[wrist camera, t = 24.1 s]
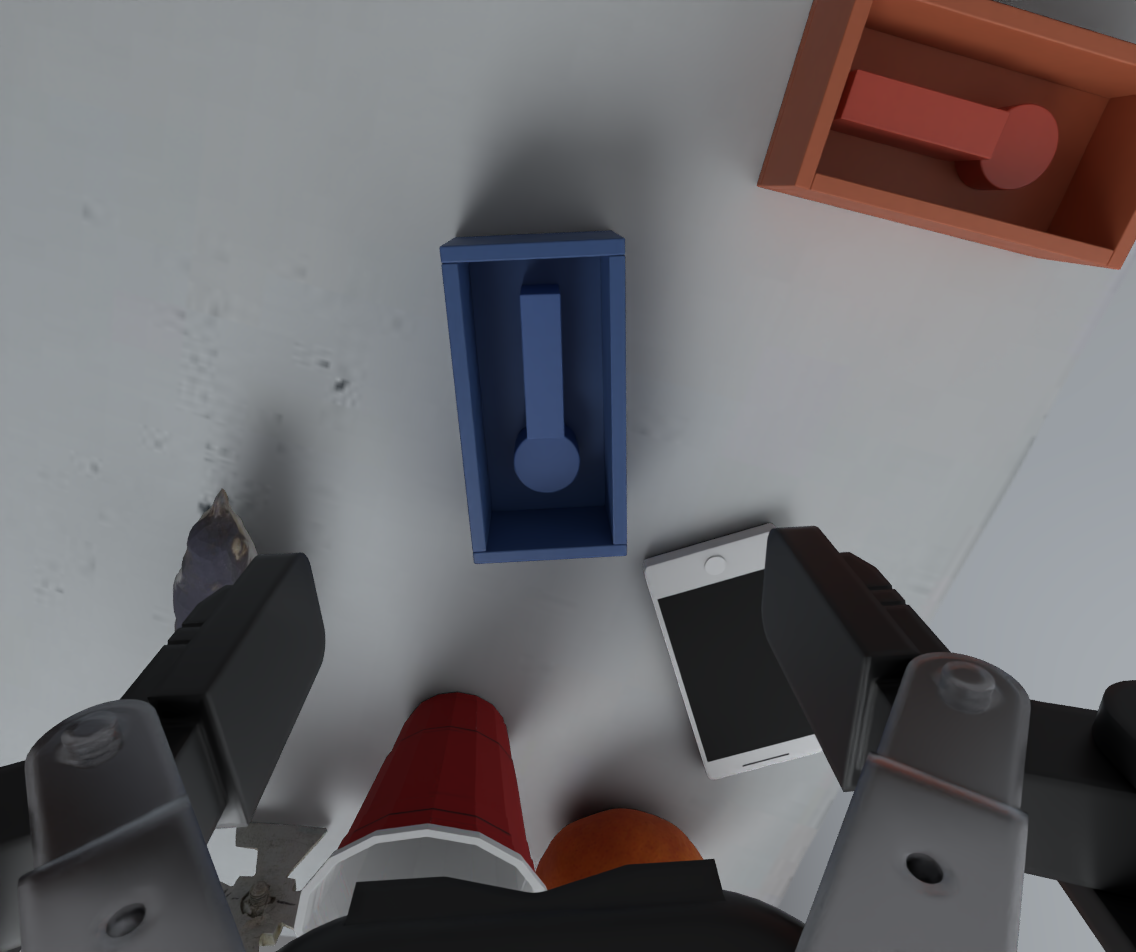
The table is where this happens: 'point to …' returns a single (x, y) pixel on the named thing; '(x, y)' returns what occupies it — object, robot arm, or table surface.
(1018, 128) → the red spoon
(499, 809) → the plastic cup
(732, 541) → the smartphone
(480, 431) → the blue bin
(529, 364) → the blue spoon
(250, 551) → the bird model
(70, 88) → the table surface
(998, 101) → the orange bin
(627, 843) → the fruit
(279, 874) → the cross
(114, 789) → the robot arm
